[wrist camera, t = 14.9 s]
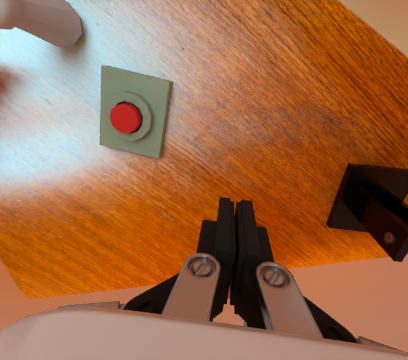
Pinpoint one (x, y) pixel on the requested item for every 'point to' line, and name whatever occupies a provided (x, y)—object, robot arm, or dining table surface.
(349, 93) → the dining table surface
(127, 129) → the button
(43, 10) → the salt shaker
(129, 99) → the button box
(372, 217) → the bracket
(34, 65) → the dining table surface
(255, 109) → the dining table surface
